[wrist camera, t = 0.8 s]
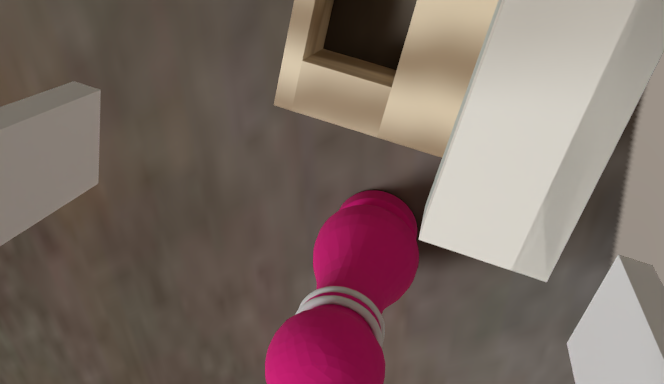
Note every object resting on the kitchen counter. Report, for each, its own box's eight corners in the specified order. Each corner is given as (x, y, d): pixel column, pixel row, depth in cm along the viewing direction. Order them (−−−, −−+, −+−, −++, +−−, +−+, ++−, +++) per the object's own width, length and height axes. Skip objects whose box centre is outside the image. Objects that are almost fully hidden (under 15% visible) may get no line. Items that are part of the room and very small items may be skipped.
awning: (504, -55, 32) (528, -65, 18) (597, -30, 31) (700, -21, 17) (439, 131, 37) (418, 239, 23) (518, 156, 37) (546, 282, 22)
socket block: (336, -99, 33) (315, -107, 29) (563, -39, 32) (577, -39, 27) (297, 88, 38) (273, 105, 34) (489, 147, 37) (491, 173, 32)
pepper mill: (373, 284, 43) (302, 512, 25) (311, 219, 42) (192, 409, 24) (444, 235, 40) (419, 456, 22) (379, 164, 39) (300, 336, 21)
